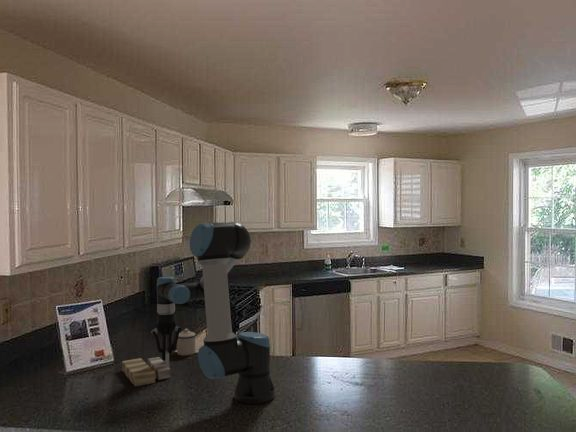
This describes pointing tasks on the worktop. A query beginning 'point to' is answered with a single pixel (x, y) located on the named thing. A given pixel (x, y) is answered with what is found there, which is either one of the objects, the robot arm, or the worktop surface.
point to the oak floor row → (138, 372)
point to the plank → (159, 368)
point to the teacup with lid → (186, 343)
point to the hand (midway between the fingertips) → (166, 367)
